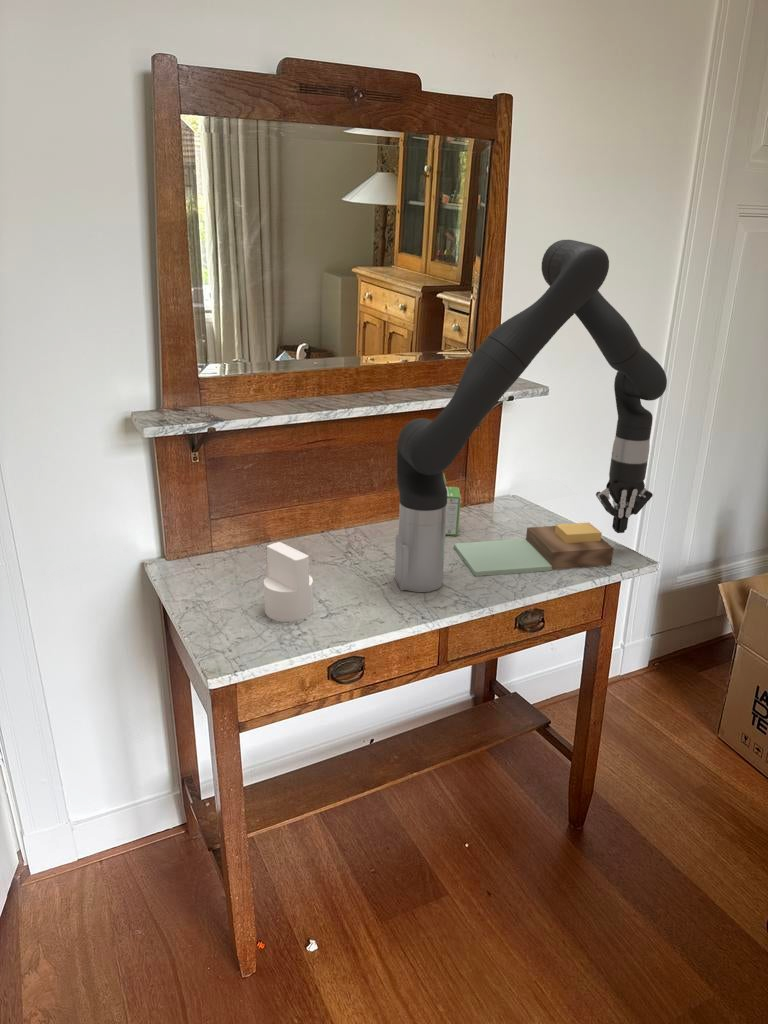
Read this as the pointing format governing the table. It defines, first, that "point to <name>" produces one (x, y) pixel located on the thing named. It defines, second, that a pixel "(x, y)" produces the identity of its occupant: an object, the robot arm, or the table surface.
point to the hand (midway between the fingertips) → (619, 531)
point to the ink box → (452, 510)
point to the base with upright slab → (287, 584)
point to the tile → (578, 532)
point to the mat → (501, 557)
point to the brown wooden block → (568, 549)
